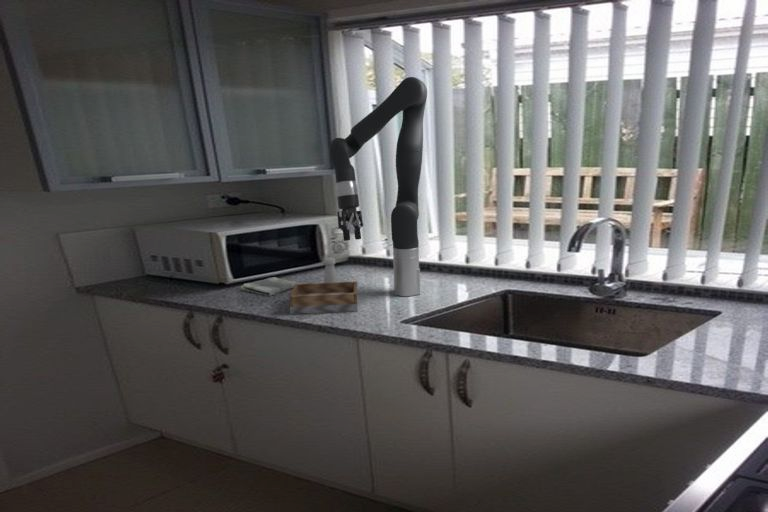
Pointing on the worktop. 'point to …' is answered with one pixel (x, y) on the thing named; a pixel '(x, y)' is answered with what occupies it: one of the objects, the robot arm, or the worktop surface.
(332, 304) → the bore box
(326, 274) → the salt shaker
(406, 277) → the robot arm
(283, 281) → the dish towel
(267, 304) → the worktop surface
